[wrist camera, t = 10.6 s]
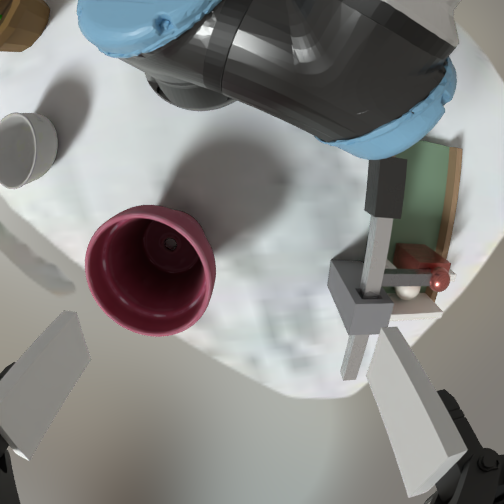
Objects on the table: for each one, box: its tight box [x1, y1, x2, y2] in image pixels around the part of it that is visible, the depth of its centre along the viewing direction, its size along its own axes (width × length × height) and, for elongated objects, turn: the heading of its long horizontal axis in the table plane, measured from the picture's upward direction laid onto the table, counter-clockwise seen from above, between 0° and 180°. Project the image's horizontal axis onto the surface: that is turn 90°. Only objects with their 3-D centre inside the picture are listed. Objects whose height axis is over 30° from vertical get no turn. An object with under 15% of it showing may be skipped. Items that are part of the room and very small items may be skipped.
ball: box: [394, 286, 421, 300], centre depth 38 cm, size 4×4×4 cm
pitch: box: [327, 140, 462, 335], centre depth 33 cm, size 24×17×12 cm
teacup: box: [0, 113, 58, 189], centre depth 32 cm, size 14×11×8 cm
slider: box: [340, 157, 451, 380], centre depth 34 cm, size 28×13×10 cm, turn 178°
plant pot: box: [85, 205, 216, 336], centre depth 34 cm, size 14×14×13 cm
